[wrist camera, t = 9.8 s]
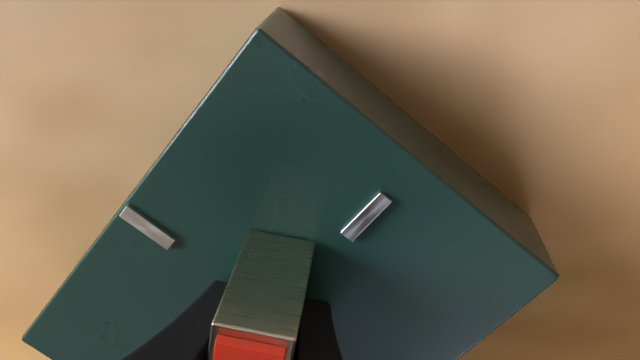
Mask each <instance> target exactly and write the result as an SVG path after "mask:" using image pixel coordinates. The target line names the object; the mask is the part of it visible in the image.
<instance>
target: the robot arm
mask: <svg viewBox="0 0 640 360" xmlns="http://www.w3.org/2000/svg"><path fill="white" fill-rule="evenodd" d="M227 284H228V282H224V281H219V280H215V281H213V282H212V283H210V284H209V286H208V287H207V288H206V289H205V290H204V291H203V292H202V293H201V294H200V295H199V296H198V297H197V298H196V299H195V300H194V301H193V302H192V303H191V304H190V305H189V306H188V307H187V308H186V309H185V310H184V311H182V312H181V313H180V314H179V315H178V316H177V317H176V318H175V319H173V320H172V321H171V322H170V323H169V324H168V325H167V326H165V327H164V328H163V329H162V330H160V331H159V332H158V333H157V334H155V335H154V336H153V337H152V338H150V339H149V340H148V341H146V342H145V343H144V344H143V345H141V346H140V347H138V348H137V349H136V350H134V351H133V352H131V353H130V354H128V355H127V356H125V357H124V358H122V359H121V360H207V357H208V348H209V339H210V331H211V323H212V321H213V318H214V316H215V313H216V311H217V308H218V306H219V304H220V301H221V299H222V296H223V294H224V291H225V289H226V286H227ZM293 360H343V357H342V354H341V351H340V348H339V345H338V341H337V338H336V333H335V329H334V325H333V320H332V313H331V306H330V304H329V303H328V302H327V301H321V300H316V299H311V298H306V297H305V300H304V305H303V310H302V315H301V320H300V326H299V331H298V336H297V341H296V346H295V352H294V357H293Z"/></svg>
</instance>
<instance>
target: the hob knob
mask: <svg viewBox="0 0 640 360" xmlns="http://www.w3.org/2000/svg"><path fill="white" fill-rule="evenodd" d="M314 248H315V242H312V241H307V240H302V239H297V238H291V237H286V236H281V235H276V234H271V233H266V232H261V231H255V230H249V232H248V235H247V237H246V239H245V242H244V244H243V247H242V249H241V252H240V254H239V257H238V259H237V262H236V264H235V267H234V269H233V271H232V274H231V276H230V279H229V281H228V284H227V286H226V289H225V291H224V294H223V296H222V299H221V301H220V304H219V306H218V308H217V311H216V313H215V316H214V318H213V321H212V323H211V331H210V339H209V348H208V357H207V360H293V357H294V352H295V346H296V341H297V336H298V331H299V326H300V320H301V315H302V310H303V305H304V300H305V295H306V289H307V284H308V279H309V274H310V269H311V263H312V258H313V253H314Z"/></svg>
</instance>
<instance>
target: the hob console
mask: <svg viewBox="0 0 640 360" xmlns="http://www.w3.org/2000/svg"><path fill="white" fill-rule="evenodd" d="M249 230H255V231H261V232H266V233H271V234H276V235H281V236H286V237H291V238H297V239H302V240H307V241H312V242H315V248H314V253H313V258H312V263H311V269H310V274H309V279H308V284H307V289H306V295H305V297H306V298H311V299H316V300H321V301H327V302H328V303H329V304H330V306H331V313H332V320H333V325H334V329H335V333H336V338H337V341H338V345H339V348H340V351H341V354H342V357H343V360H458V359H459V358H460V357H461V356H463V355H464V354H465V353H466V352H467V351H469V350H470V349H471V348H472V347H474V346H475V345H476V344H477V343H479V342H480V341H481V340H482V339H484V338H485V337H486V336H487V335H489V334H490V333H491V332H492V331H494V330H495V329H496V328H497V327H499V326H500V325H501V324H502V323H503V322H505V321H506V320H507V319H508V318H510V317H511V316H512V315H513V314H515V313H516V312H517V311H518V310H520V309H521V308H522V307H523V306H525V305H526V304H527V303H528V302H530V301H531V300H532V299H533V298H535V297H536V296H537V295H538V294H539V293H541V292H542V291H543V290H544V289H546V288H547V287H548V286H549V285H551V284H552V283H553V282H554V281H556V280H557V279H558V278H559V274H558V272H557V270H556V268H555V266H554V264H553V262H552V260H551V258H550V256H549V254H548V252H547V250H546V247H545V245H544V243H543V241H542V239H541V237H540V235H539V233H538V231H537V229H536V227H535V225H534V223H533V221H532V219H531V217H530V216H528V215H527V214H526V213H525V212H524V211H522V210H521V209H520V208H519V207H518V206H516V205H515V204H514V203H513V202H512V201H511V200H509V199H508V198H507V197H506V196H505V195H503V194H502V193H501V192H500V191H499V190H497V189H496V188H495V187H494V186H493V185H491V184H490V183H489V182H488V181H487V180H486V179H484V178H483V177H482V176H481V175H480V174H478V173H477V172H476V171H475V170H474V169H472V168H471V167H470V166H469V165H468V164H467V163H465V162H464V161H463V160H462V159H461V158H459V157H458V156H457V155H456V154H455V153H453V152H452V151H451V150H450V149H449V148H447V147H446V146H445V145H444V144H443V143H442V142H440V141H439V140H438V139H437V138H436V137H434V136H433V135H432V134H431V133H430V132H428V131H427V130H426V129H425V128H424V127H422V126H421V125H420V124H419V123H418V122H417V121H415V120H414V119H413V118H412V117H411V116H409V115H408V114H407V113H406V112H405V111H403V110H402V109H401V108H400V107H399V106H398V105H396V104H395V103H394V102H393V101H392V100H390V99H389V98H388V97H387V96H386V95H384V94H383V93H382V92H381V91H380V90H378V89H377V88H376V87H375V86H374V85H373V84H371V83H370V82H369V81H368V80H367V79H365V78H364V77H363V76H362V75H361V74H359V73H358V72H357V71H356V70H355V69H353V68H352V67H351V66H350V65H349V64H348V63H346V62H345V61H344V60H343V59H342V58H340V57H339V56H338V55H337V54H336V53H334V52H333V51H332V50H331V49H330V48H329V47H327V46H326V45H325V44H324V43H323V42H321V41H320V40H319V39H318V38H317V37H315V36H314V35H313V34H312V33H311V32H309V31H308V30H307V29H306V28H305V27H304V26H302V25H301V24H300V23H299V22H298V21H296V20H295V19H294V18H293V17H292V16H290V15H289V14H288V13H287V12H286V11H284V10H283V9H282V8H280V7H279V8H277V9H276V10H275V11H274V12H273V13H272V14H271V15H270V16H269V17H268V18H267V19H266V20H265V21H263V22H262V23H261V24H260V25H259V26H258V27H257V28H256V29H255V31H254V32H253V33H252V35H251V36H250V37H249V39H248V40H247V41H246V42H245V44H244V45H243V46H242V48H241V49H240V50H239V52H238V53H237V54H236V56H235V57H234V58H233V60H232V61H231V62H230V64H229V65H228V66H227V68H226V69H225V70H224V71H223V73H222V74H221V75H220V77H219V78H218V79H217V81H216V82H215V83H214V85H213V86H212V87H211V89H210V90H209V91H208V93H207V94H206V95H205V97H204V98H203V99H202V100H201V102H200V103H199V104H198V106H197V107H196V108H195V110H194V111H193V112H192V114H191V115H190V116H189V118H188V119H187V120H186V122H185V123H184V124H183V126H182V127H181V128H180V129H179V131H178V132H177V133H176V135H175V136H174V137H173V139H172V140H171V141H170V143H169V144H168V145H167V147H166V148H165V149H164V151H163V152H162V153H161V155H160V156H159V157H158V158H157V160H156V161H155V162H154V164H153V165H152V166H151V168H150V169H149V170H148V172H147V173H146V174H145V176H144V177H143V178H142V180H141V181H140V182H139V184H138V185H137V186H136V187H135V189H134V190H133V191H132V193H131V194H130V195H129V197H128V198H127V199H126V201H125V202H124V203H123V205H122V206H121V207H120V209H119V210H118V211H117V213H116V214H115V215H114V216H113V218H112V219H111V220H110V222H109V223H108V224H107V226H106V227H105V228H104V230H103V231H102V232H101V234H100V235H99V236H98V238H97V239H96V240H95V242H94V243H93V244H92V245H91V247H90V248H89V249H88V251H87V252H86V253H85V255H84V256H83V257H82V259H81V260H80V261H79V263H78V264H77V265H76V267H75V268H74V269H73V271H72V272H71V273H70V274H69V276H68V277H67V278H66V280H65V281H64V282H63V284H62V285H61V286H60V288H59V289H58V290H57V292H56V293H55V294H54V296H53V297H52V298H51V300H50V301H49V302H48V303H47V305H46V306H45V307H44V309H43V310H42V311H41V313H40V314H39V315H38V317H37V318H36V319H35V321H34V322H33V323H32V325H31V326H30V327H29V329H28V330H27V331H26V332H25V334H24V335H23V336H22V340H23V341H24V342H25V343H27V344H28V345H30V346H32V347H33V348H35V349H36V350H38V351H39V352H41V353H43V354H44V355H46V356H47V357H49V358H50V359H52V360H121V359H122V358H124V357H125V356H127V355H128V354H130V353H131V352H133V351H134V350H136V349H137V348H138V347H140V346H141V345H143V344H144V343H145V342H146V341H148V340H149V339H150V338H152V337H153V336H154V335H155V334H157V333H158V332H159V331H160V330H162V329H163V328H164V327H165V326H167V325H168V324H169V323H170V322H171V321H172V320H173V319H175V318H176V317H177V316H178V315H179V314H180V313H181V312H182V311H184V310H185V309H186V308H187V307H188V306H189V305H190V304H191V303H192V302H193V301H194V300H195V299H196V298H197V297H198V296H199V295H200V294H201V293H202V292H203V291H204V290H205V289H206V288H207V287H208V286H209V284H210V283H212V282H213V281H215V280H219V281H224V282H228V281H229V279H230V276H231V274H232V271H233V269H234V267H235V264H236V262H237V259H238V257H239V254H240V252H241V249H242V247H243V244H244V242H245V239H246V237H247V235H248V232H249Z"/></svg>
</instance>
